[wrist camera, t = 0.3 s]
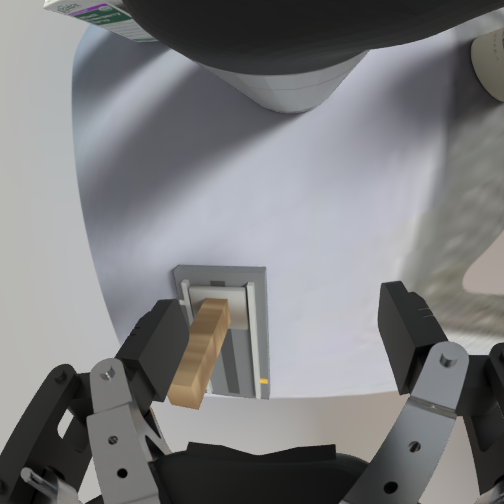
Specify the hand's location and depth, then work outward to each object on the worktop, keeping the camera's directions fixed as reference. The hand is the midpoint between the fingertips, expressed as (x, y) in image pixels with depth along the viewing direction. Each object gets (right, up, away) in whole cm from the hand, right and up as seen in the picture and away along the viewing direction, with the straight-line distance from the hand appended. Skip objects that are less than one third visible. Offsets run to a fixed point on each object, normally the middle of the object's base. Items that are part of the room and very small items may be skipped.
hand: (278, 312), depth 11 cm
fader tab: (-4, -4, +20) cm, 21 cm away
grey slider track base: (-4, -9, +24) cm, 26 cm away
